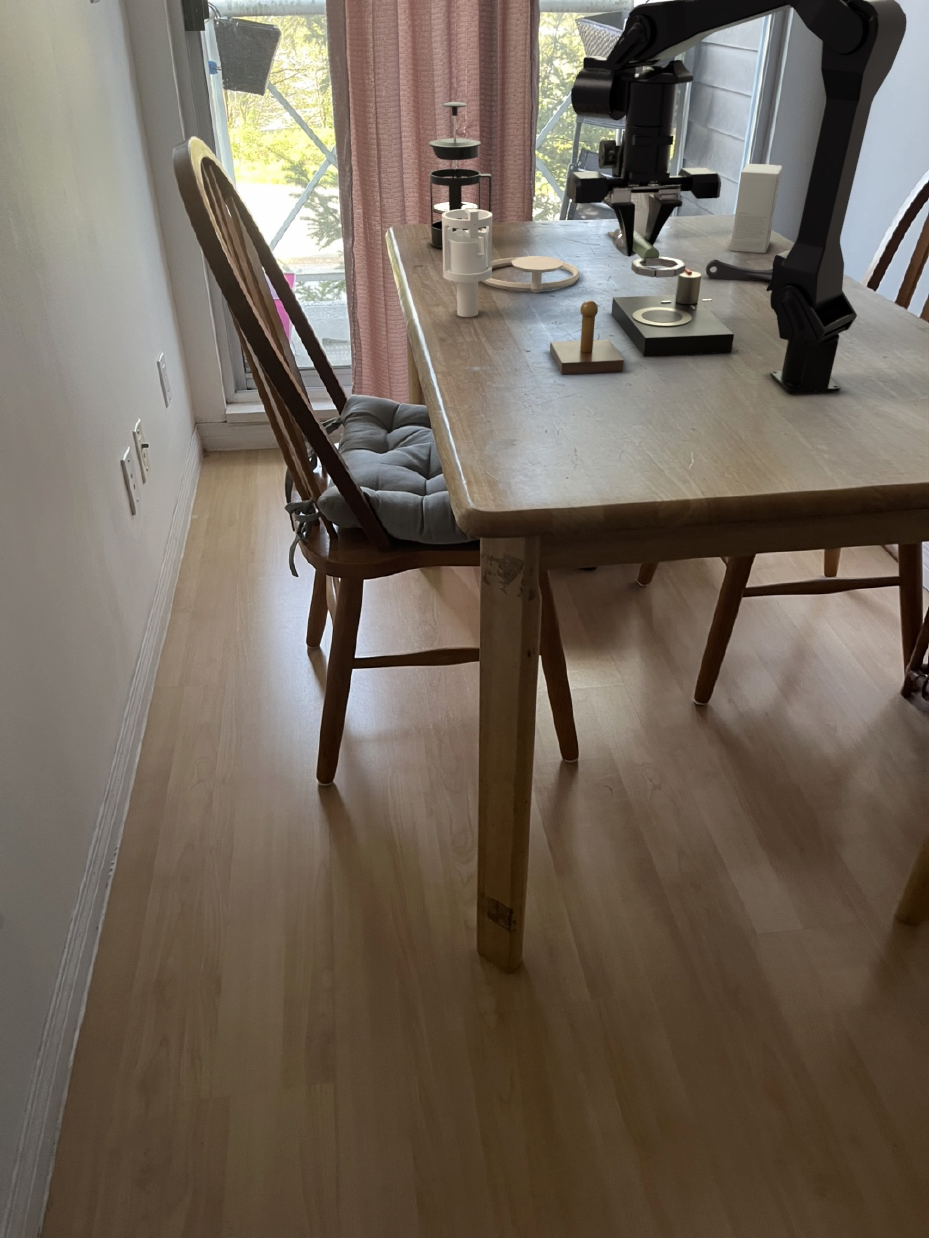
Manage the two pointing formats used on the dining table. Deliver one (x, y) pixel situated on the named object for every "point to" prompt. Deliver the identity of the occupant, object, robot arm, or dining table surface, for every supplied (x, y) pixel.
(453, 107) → the french press
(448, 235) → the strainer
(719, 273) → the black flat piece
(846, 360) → the dining table surface
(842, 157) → the robot arm
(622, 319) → the stove
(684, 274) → the burner knob
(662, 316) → the burner
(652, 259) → the green handled ring tool
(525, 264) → the hand towel holder
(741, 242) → the small box
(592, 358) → the peg stand
